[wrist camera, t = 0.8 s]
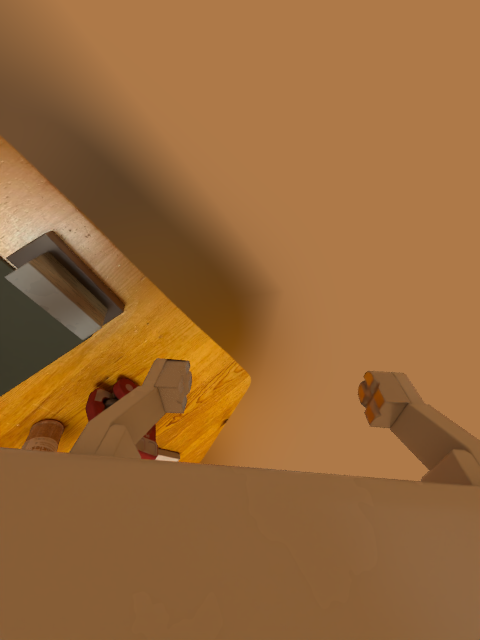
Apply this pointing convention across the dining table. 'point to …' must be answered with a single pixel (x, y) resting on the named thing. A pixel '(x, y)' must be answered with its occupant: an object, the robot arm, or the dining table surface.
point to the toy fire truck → (105, 399)
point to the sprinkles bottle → (44, 436)
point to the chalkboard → (27, 335)
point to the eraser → (63, 285)
